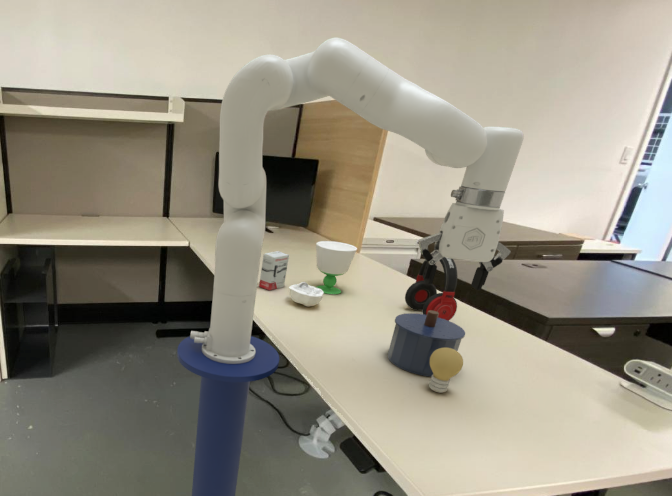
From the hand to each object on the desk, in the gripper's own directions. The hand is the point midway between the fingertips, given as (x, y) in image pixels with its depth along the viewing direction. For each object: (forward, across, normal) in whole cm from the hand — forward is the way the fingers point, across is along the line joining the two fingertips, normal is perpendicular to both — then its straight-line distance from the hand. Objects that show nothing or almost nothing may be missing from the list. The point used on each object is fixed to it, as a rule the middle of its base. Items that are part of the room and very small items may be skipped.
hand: (451, 285), depth 95 cm
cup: (+24, -12, +65) cm, 70 cm away
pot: (+23, +3, +12) cm, 26 cm away
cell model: (+24, -22, +47) cm, 57 cm away
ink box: (+24, -32, +62) cm, 74 cm away
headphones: (+23, +16, +47) cm, 55 cm away
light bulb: (+24, +3, -2) cm, 24 cm away
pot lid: (+14, +3, +12) cm, 19 cm away
